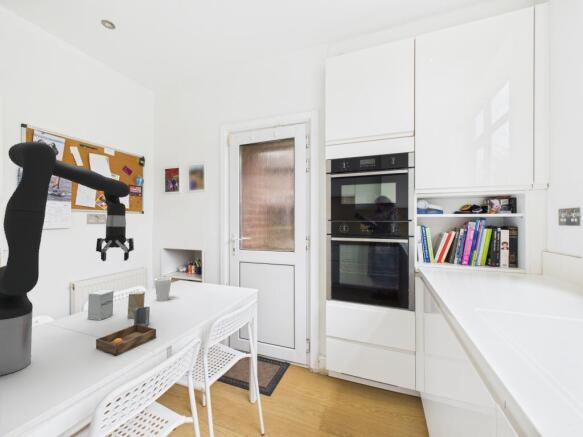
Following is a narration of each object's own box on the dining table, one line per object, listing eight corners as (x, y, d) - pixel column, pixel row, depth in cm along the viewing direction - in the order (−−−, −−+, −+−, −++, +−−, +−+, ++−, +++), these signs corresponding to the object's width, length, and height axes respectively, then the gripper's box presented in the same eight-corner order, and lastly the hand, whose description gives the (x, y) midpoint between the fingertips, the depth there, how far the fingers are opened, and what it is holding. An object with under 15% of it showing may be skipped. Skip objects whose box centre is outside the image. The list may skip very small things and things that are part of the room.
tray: (115, 356, 89) (115, 346, 89) (95, 348, 94) (96, 339, 94) (155, 337, 104) (156, 329, 104) (137, 331, 109) (137, 323, 109)
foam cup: (154, 298, 156) (155, 277, 156) (171, 296, 160) (171, 276, 160) (153, 303, 147) (154, 280, 147) (170, 301, 151) (171, 279, 151)
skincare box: (127, 319, 123) (127, 294, 123) (130, 315, 127) (130, 291, 127) (141, 317, 124) (142, 293, 125) (144, 314, 129) (144, 291, 129)
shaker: (137, 324, 117) (137, 307, 117) (149, 323, 118) (149, 306, 118) (133, 328, 112) (134, 310, 112) (146, 327, 113) (146, 310, 113)
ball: (125, 338, 97) (123, 343, 94) (119, 346, 96) (117, 350, 93) (117, 335, 96) (115, 339, 93) (111, 342, 95) (109, 347, 92)
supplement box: (99, 320, 120) (100, 294, 120) (87, 319, 122) (87, 293, 122) (113, 315, 127) (114, 290, 128) (101, 314, 129) (102, 289, 129)
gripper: (93, 225, 109) (92, 262, 109) (130, 225, 113) (129, 261, 113) (101, 225, 116) (100, 259, 116) (136, 225, 120) (135, 259, 120)
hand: (115, 260), depth 114 cm, fingers open, 8 cm apart
